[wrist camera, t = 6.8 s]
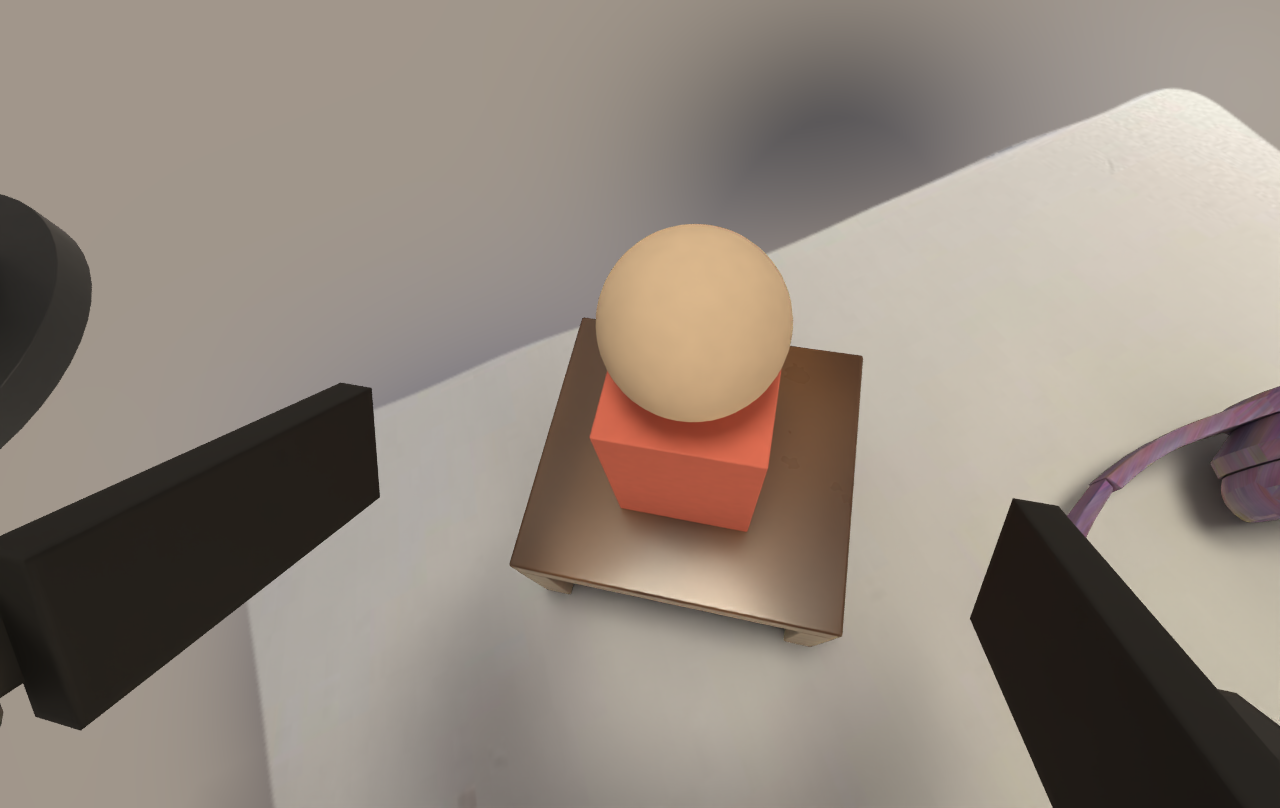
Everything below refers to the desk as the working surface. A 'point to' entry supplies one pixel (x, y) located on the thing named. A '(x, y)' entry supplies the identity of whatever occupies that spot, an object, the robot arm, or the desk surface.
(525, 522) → the shelf
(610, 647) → the desk surface
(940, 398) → the desk surface
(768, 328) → the toy
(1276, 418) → the headphones
